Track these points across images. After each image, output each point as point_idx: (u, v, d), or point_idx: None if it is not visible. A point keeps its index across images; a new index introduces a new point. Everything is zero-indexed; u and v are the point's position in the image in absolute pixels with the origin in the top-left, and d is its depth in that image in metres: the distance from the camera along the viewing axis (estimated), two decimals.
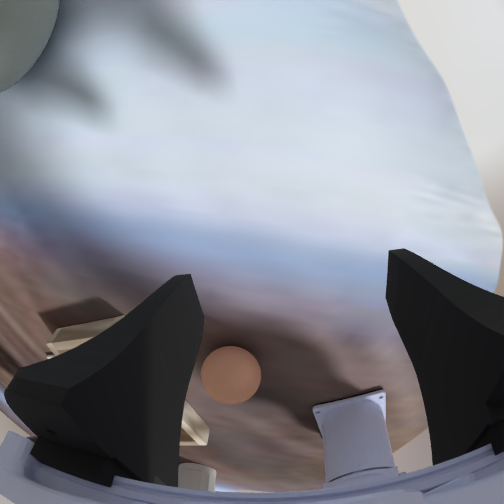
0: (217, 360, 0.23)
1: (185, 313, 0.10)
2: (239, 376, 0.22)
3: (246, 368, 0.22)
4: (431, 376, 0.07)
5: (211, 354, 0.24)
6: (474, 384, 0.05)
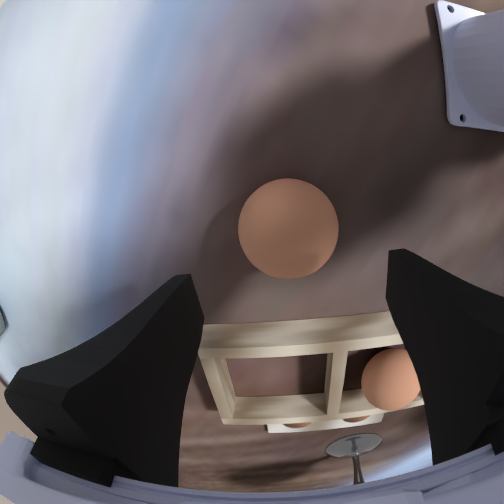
0: (239, 238, 0.15)
1: (185, 313, 0.10)
2: (255, 215, 0.14)
3: (255, 199, 0.14)
4: (431, 376, 0.07)
5: None
6: (473, 384, 0.05)
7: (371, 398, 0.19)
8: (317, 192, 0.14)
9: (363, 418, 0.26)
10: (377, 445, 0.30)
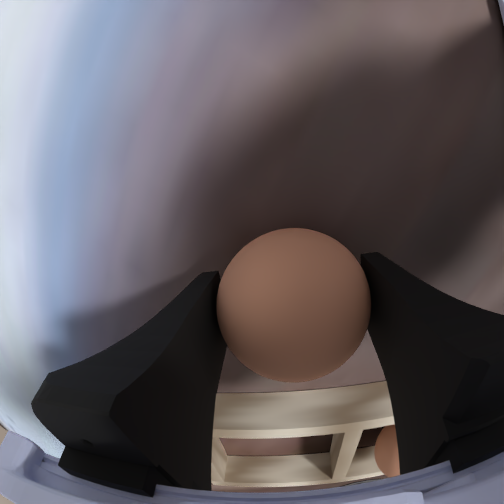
0: None
1: (215, 311, 0.10)
2: (241, 301, 0.08)
3: (242, 270, 0.08)
4: (397, 384, 0.07)
5: None
6: (432, 397, 0.05)
7: (385, 471, 0.14)
8: (343, 257, 0.08)
9: None
10: None
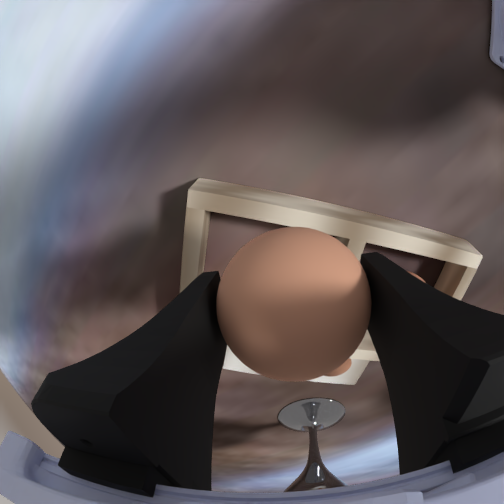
0: None
1: (215, 311, 0.10)
2: (241, 299, 0.08)
3: (242, 269, 0.08)
4: (397, 384, 0.07)
5: None
6: (432, 396, 0.05)
7: None
8: (344, 256, 0.08)
9: (337, 373, 0.24)
10: (337, 421, 0.29)
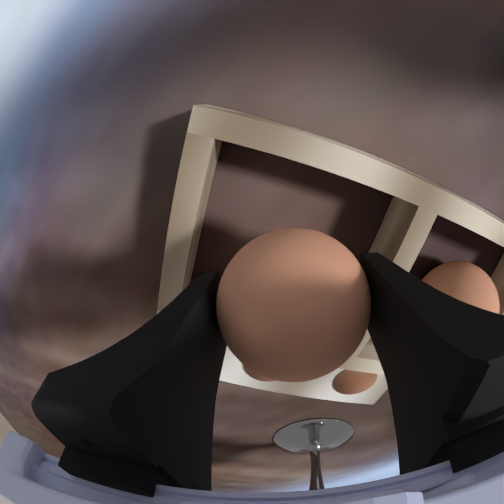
0: None
1: (215, 311, 0.10)
2: (241, 300, 0.08)
3: (241, 270, 0.08)
4: (398, 384, 0.07)
5: None
6: (432, 397, 0.05)
7: None
8: (343, 257, 0.08)
9: (357, 391, 0.19)
10: (342, 444, 0.23)
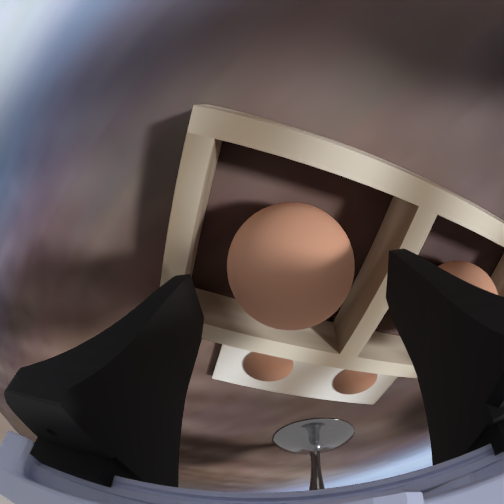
0: (228, 279, 0.12)
1: (185, 313, 0.10)
2: (249, 255, 0.10)
3: (248, 232, 0.11)
4: (431, 376, 0.07)
5: None
6: (473, 384, 0.05)
7: None
8: (329, 223, 0.11)
9: (357, 391, 0.19)
10: (342, 443, 0.23)
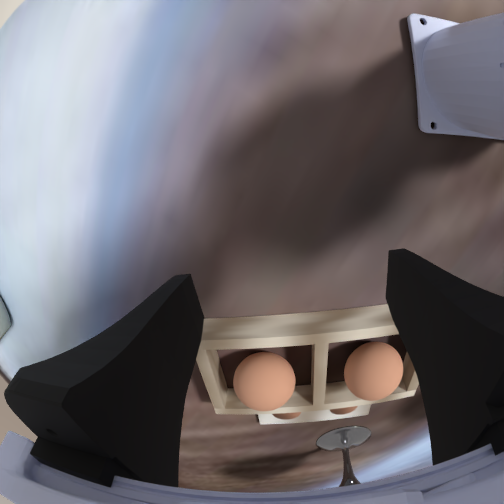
0: None
1: (185, 313, 0.10)
2: (239, 391, 0.22)
3: (236, 380, 0.22)
4: (431, 376, 0.07)
5: None
6: (473, 384, 0.05)
7: (353, 388, 0.21)
8: (269, 367, 0.22)
9: (350, 411, 0.28)
10: (366, 438, 0.32)
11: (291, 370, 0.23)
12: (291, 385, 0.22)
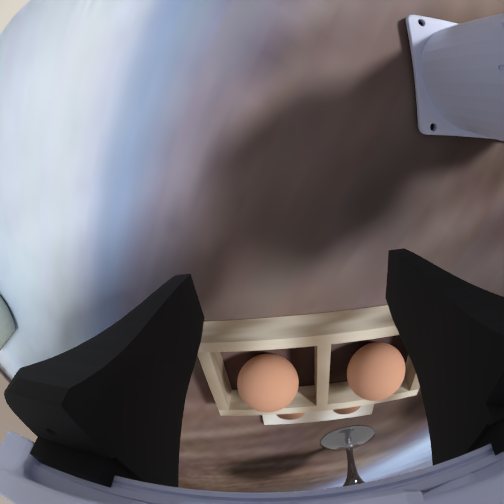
0: None
1: (185, 313, 0.10)
2: (243, 393, 0.22)
3: (240, 382, 0.23)
4: (431, 376, 0.07)
5: None
6: (474, 384, 0.05)
7: (355, 389, 0.21)
8: (273, 369, 0.22)
9: (353, 410, 0.29)
10: (370, 437, 0.32)
11: (294, 371, 0.23)
12: (294, 386, 0.22)
